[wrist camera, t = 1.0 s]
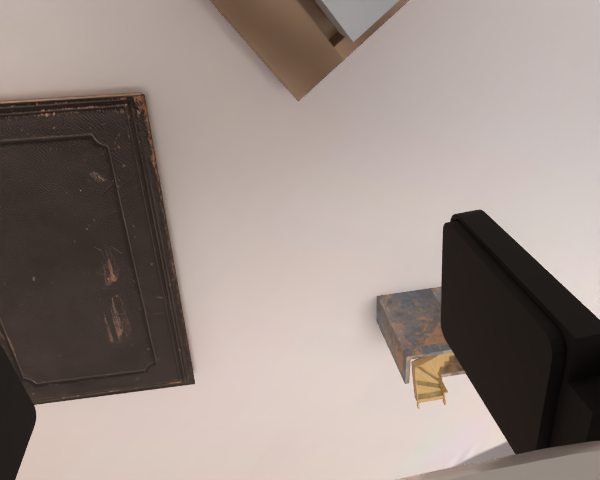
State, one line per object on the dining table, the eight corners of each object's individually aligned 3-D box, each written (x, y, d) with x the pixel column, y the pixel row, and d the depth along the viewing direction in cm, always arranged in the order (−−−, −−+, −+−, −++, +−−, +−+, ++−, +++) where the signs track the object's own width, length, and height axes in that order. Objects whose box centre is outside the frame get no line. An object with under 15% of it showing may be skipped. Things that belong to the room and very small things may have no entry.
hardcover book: (147, 86, 32) (143, 95, 30) (195, 364, 43) (194, 384, 41) (-135, 103, 30) (-159, 114, 28) (-7, 389, 41) (-17, 412, 39)
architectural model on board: (375, 322, 44) (414, 410, 35) (375, 293, 42) (416, 378, 34) (501, 303, 45) (568, 384, 37) (505, 274, 43) (577, 352, 35)
